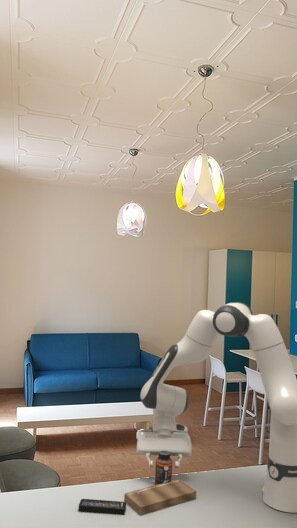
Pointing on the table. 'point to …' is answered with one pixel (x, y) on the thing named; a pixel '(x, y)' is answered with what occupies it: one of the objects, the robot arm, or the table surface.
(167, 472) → the supplement bottle
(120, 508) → the multiport hub
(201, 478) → the table surface
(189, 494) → the walnut board
